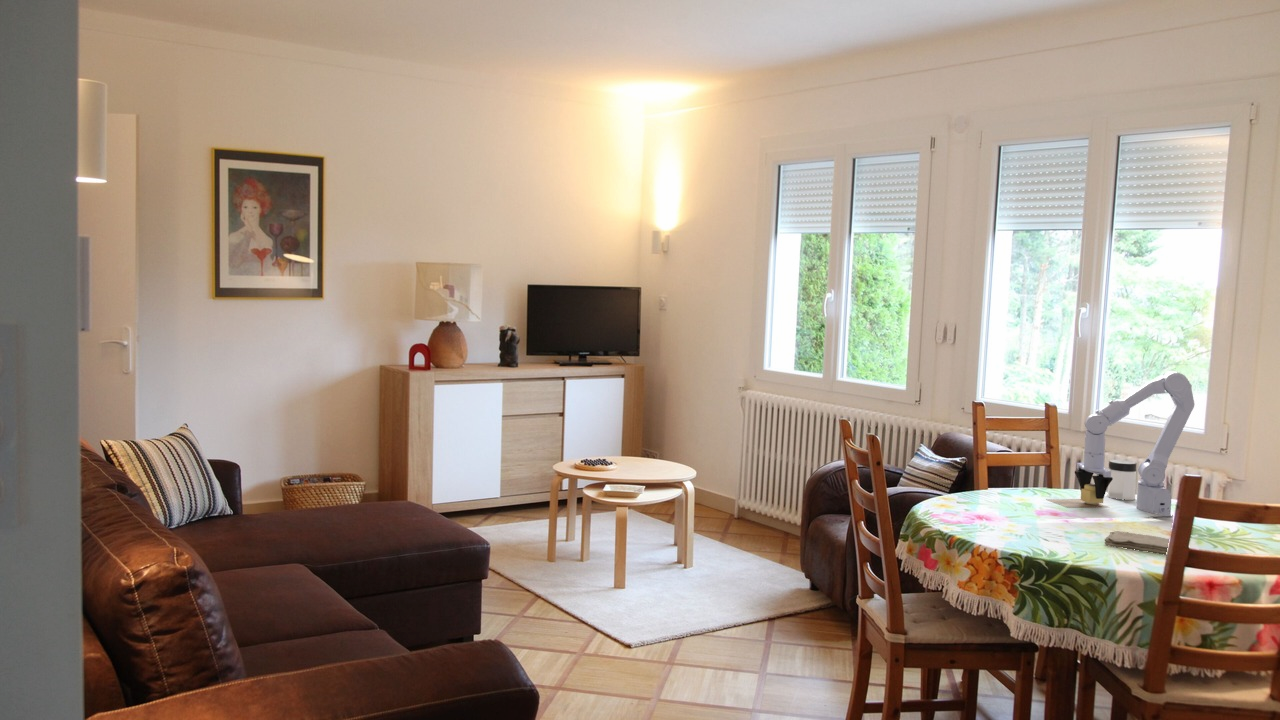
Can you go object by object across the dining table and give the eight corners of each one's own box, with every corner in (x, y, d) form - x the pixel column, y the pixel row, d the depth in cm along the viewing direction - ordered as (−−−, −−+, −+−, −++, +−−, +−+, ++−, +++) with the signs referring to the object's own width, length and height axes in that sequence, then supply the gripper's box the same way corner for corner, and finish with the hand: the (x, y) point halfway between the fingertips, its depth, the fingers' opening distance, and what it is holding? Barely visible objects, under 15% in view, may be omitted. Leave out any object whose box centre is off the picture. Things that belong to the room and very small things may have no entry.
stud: (1101, 505, 297) (1102, 493, 297) (1089, 505, 296) (1090, 493, 296) (1093, 502, 301) (1094, 490, 301) (1082, 502, 300) (1082, 490, 300)
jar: (1105, 493, 321) (1107, 458, 320) (1132, 496, 318) (1134, 460, 318) (1108, 499, 313) (1110, 462, 312) (1136, 501, 310) (1138, 464, 309)
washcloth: (1110, 538, 262) (1111, 527, 262) (1185, 549, 252) (1185, 538, 252) (1102, 547, 253) (1103, 536, 252) (1180, 559, 242) (1181, 547, 242)
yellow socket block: (1103, 503, 297) (1104, 485, 296) (1089, 503, 296) (1090, 485, 296) (1094, 499, 301) (1094, 482, 301) (1080, 500, 301) (1081, 482, 300)
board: (1109, 510, 295) (1109, 507, 295) (1067, 511, 293) (1067, 507, 293) (1085, 502, 307) (1085, 498, 307) (1045, 503, 305) (1045, 499, 305)
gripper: (1068, 449, 304) (1066, 491, 305) (1097, 456, 290) (1094, 501, 291) (1089, 449, 305) (1087, 491, 306) (1118, 456, 291) (1115, 500, 292)
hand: (1092, 495), depth 299 cm, fingers open, 7 cm apart
